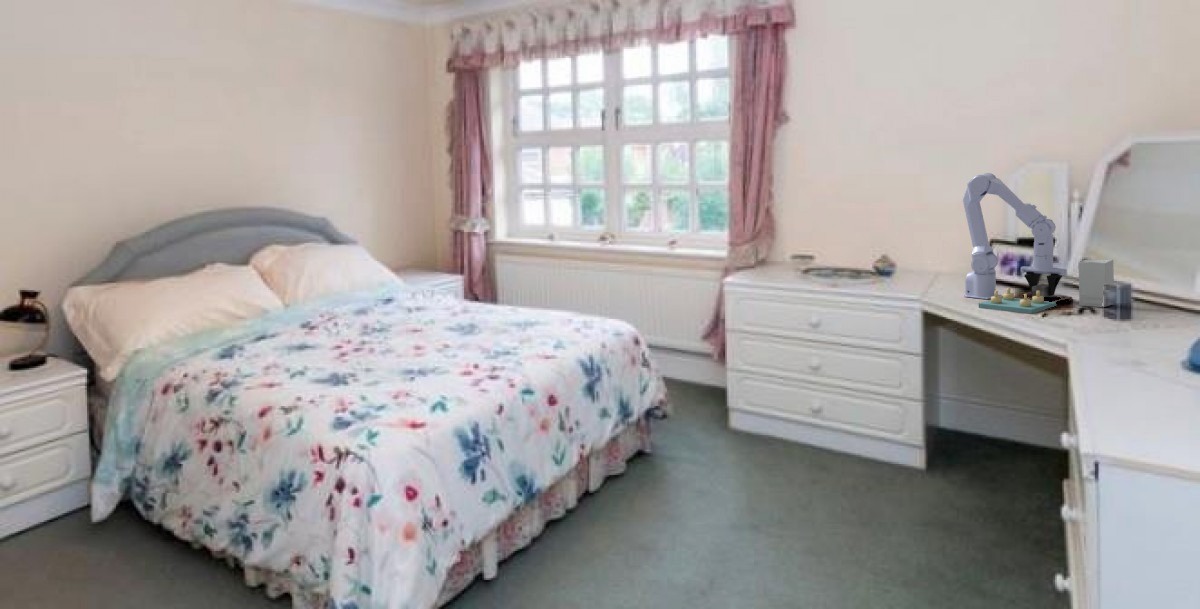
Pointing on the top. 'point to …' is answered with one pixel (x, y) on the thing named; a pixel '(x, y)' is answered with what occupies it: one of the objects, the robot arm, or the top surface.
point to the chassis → (1017, 303)
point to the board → (1044, 292)
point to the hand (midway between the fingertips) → (1042, 294)
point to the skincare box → (1094, 281)
